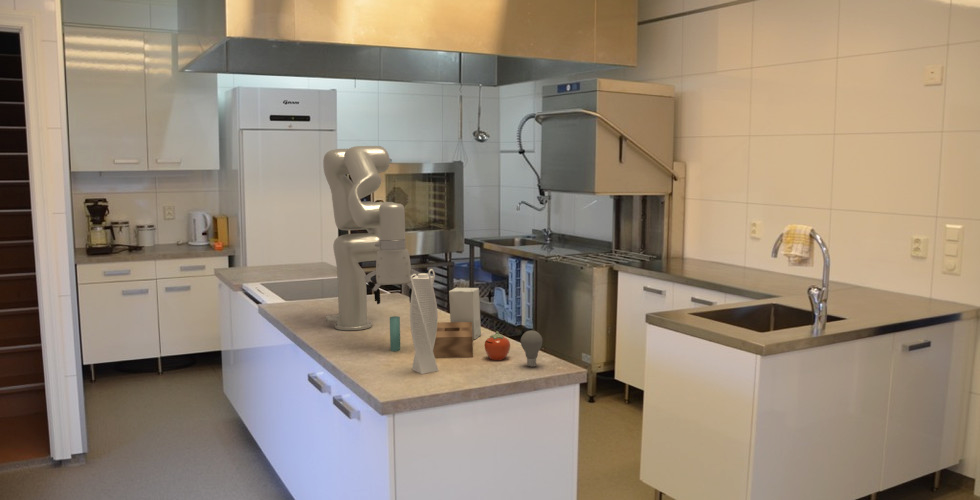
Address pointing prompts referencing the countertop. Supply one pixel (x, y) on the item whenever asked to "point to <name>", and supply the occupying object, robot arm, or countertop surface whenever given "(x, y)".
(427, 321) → the skyscraper
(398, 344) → the teal peg
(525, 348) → the light bulb
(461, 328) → the walnut socket block
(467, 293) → the skincare box
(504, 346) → the tomato
